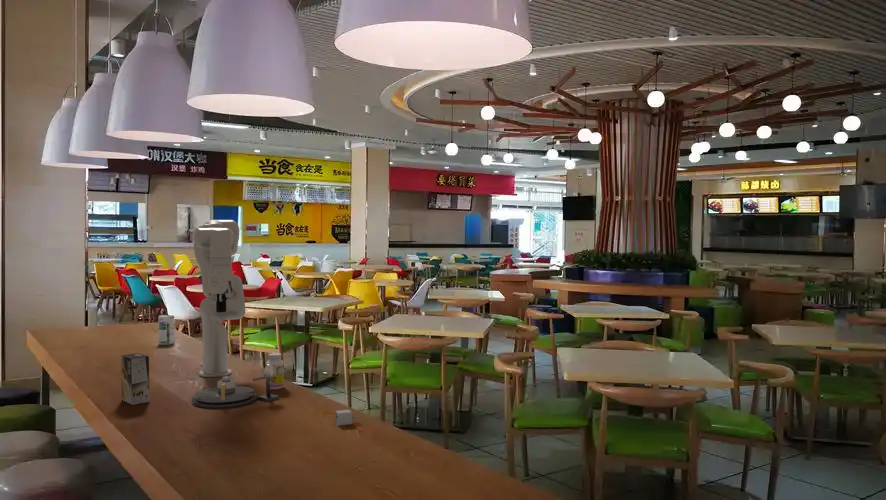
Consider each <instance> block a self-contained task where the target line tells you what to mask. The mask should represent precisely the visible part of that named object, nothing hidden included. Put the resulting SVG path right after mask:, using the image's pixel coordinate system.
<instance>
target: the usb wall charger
mask: <svg viewBox="0 0 886 500" xmlns="http://www.w3.org/2000/svg"><path fill="white" fill-rule="evenodd" d="M356 419H357V420H358V419H360V416H359V415H358V413H356V414H355V413H354V414H353V413H352V410H350V409H341V410H340V409H339V410H335V411H334V422H335V423H334V424H335V425H336V426H337V427H340V426H341V427H343V426H349V425H352V423H353V421H352V420H356Z"/></svg>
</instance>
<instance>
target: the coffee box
mask: <svg viewBox="0 0 886 500" xmlns="http://www.w3.org/2000/svg"><path fill="white" fill-rule="evenodd" d="M120 364H121V365H120V366H121V367H120V370H121V373H120V374H121V401H122V400H123V401H122V402H124V401H125V402H124V403H126V402H127V403H126V404H129V405H132V406H135V405H139V404H140V403H141V404H145V403H150V401H151V400H150V397H151V396H150V356H149V355H147V354H142V353H140V352H139V353H138V352H137V353H135V352H134V353H128V354H122V355H120ZM141 404H140V405H141Z"/></svg>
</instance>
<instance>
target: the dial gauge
mask: <svg viewBox="0 0 886 500" xmlns="http://www.w3.org/2000/svg"><path fill="white" fill-rule="evenodd" d="M276 372H277V369H276V366H275V365H273V364H268V365H266V364H265V367H263V376H259V377H256V378H252V381H260V380H264V379H265V392H266V394H263V395H260V396H259V395H258V399H257V400H260V401H264V402H266V403H268V402H271V401H276V400H279V399H280V398H279V397H280V396H279V395H278V394H277V395H276V394H272V393H271V389H270V379H271V378H273V377H274V376H275V375H276Z"/></svg>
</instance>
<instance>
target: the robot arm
mask: <svg viewBox="0 0 886 500" xmlns="http://www.w3.org/2000/svg"><path fill="white" fill-rule="evenodd" d="M239 239H240V227H239V224H238V222H236V221H235V220H233V219H210V220H208V221H206V222H204V224H202V225H197V226H196V227H195V228H194V232H193V251H194V252H193V253H194V256H195V260H196V262H197V264H198V266H199V269H200V272H201V284H202V287H201V288H202V293H203V295H204V296H205V298H204V299H202V300H201V302H200V304H199V311H200V317H201V324H202V363H200V364H199V367H200V368H201V369H202V370H200V371H199V373H198V376H200V377H203V378H222V377H223V376H230V375H232V372H233V371H232V369H230V368H229V367H228V366H229V365H228V362H229V359H228V358H229V357H228V330H227V328H226V326H225V325H224V324H223V323H222V322H221V321H228V320H229V321H231V320H232V321H233V320H240V319H242V318H244V317H245V313H246V303H245V295H244V286H243V285H244V284H243V281H242V278H241V277H240V276H238V275H234V273H233V267H232V264H233V263H232V262H233V261H232V258H233V257H232V256H234V255H236V254H237V252H238V245H239Z"/></svg>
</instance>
